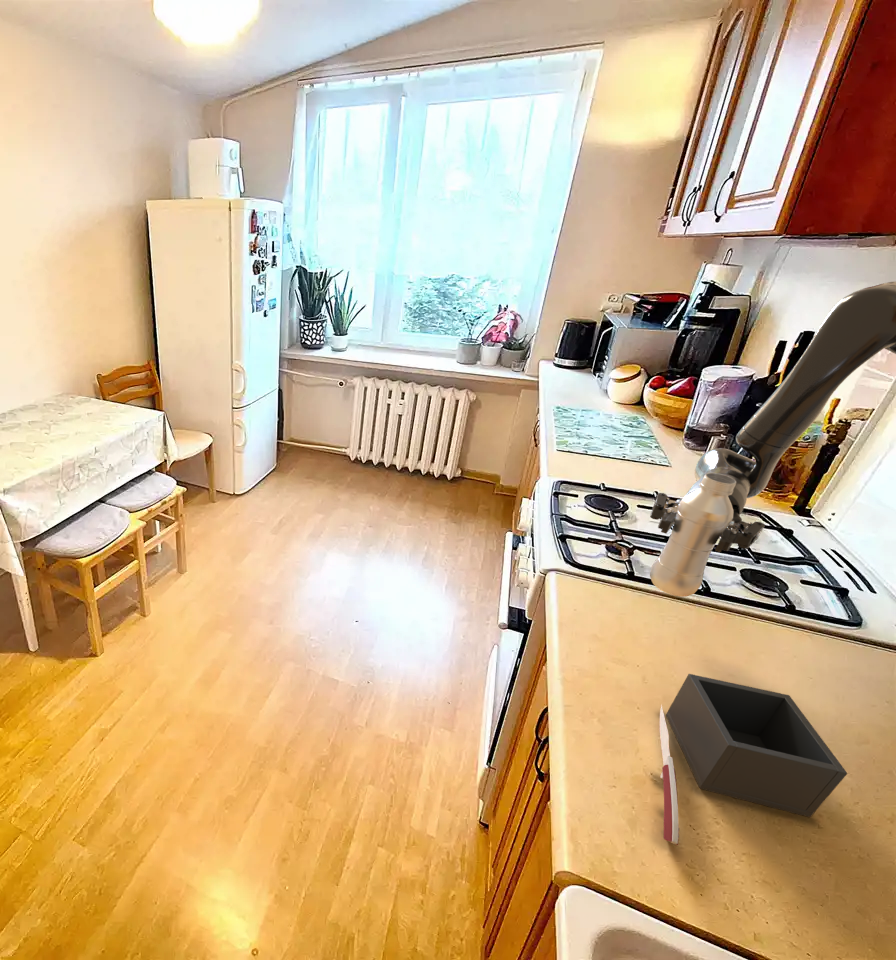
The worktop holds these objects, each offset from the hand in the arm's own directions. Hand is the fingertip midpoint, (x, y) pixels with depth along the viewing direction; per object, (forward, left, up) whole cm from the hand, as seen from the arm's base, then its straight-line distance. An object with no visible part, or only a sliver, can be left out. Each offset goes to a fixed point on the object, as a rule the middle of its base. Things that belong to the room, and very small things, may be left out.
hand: (692, 536), depth 77 cm
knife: (+8, +30, -18) cm, 35 cm away
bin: (-1, +25, -17) cm, 30 cm away
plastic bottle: (-1, -2, -11) cm, 11 cm away
